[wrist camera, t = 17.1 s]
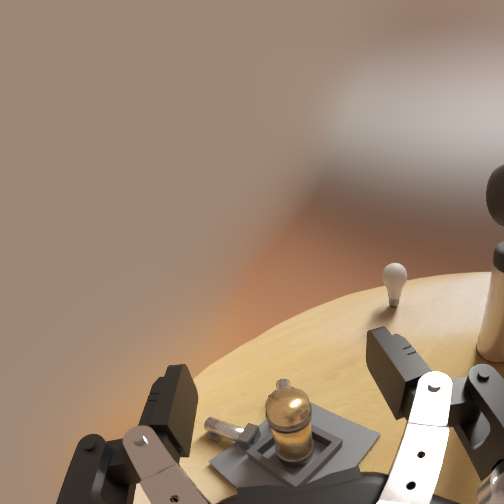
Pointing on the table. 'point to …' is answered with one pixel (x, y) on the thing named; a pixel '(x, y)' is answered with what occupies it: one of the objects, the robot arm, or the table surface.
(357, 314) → the table surface
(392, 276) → the lightbulb
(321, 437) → the stand
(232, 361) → the table surface
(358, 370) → the table surface
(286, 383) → the shaft
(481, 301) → the table surface
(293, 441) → the gold cylindrical piece
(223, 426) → the shaft
